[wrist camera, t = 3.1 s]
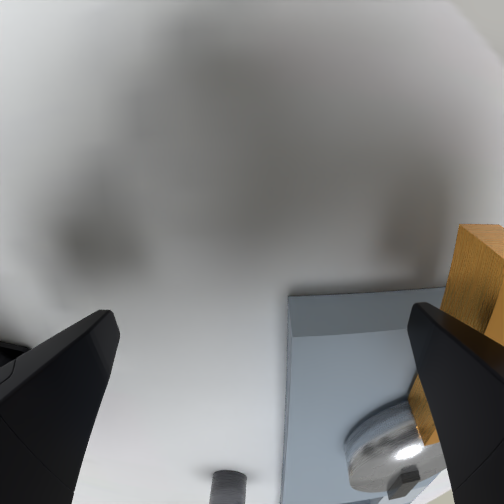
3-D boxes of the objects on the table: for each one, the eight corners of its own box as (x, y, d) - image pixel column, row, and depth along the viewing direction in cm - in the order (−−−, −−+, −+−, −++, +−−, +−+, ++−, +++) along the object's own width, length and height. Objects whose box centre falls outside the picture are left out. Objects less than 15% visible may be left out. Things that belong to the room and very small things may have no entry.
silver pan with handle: (335, 470, 14) (340, 508, 12) (394, 224, 8) (435, 268, 6) (435, 450, 14) (446, 484, 11) (537, 225, 8) (583, 256, 6)
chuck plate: (279, 509, 24) (279, 530, 21) (288, 296, 13) (292, 337, 10) (395, 494, 23) (399, 513, 21) (515, 279, 12) (542, 305, 10)
